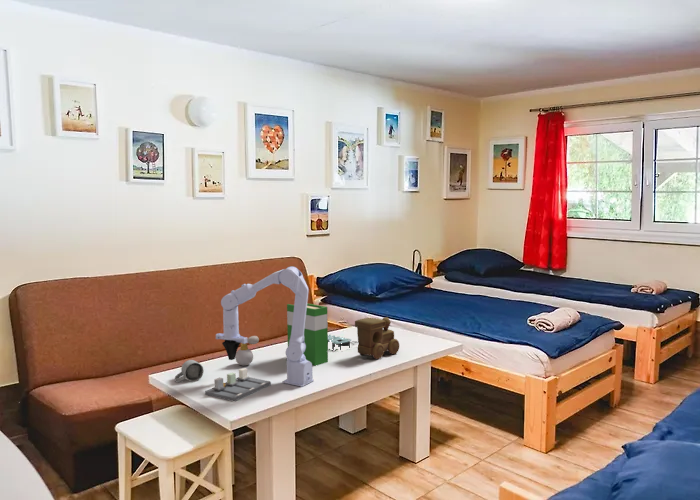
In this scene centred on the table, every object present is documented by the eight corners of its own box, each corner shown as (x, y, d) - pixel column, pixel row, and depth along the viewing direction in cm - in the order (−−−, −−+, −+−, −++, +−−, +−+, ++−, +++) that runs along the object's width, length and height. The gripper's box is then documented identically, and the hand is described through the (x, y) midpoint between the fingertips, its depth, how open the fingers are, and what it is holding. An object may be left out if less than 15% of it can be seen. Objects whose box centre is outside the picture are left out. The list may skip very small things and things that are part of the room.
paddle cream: (249, 378, 212) (249, 368, 212) (244, 380, 210) (243, 371, 209) (242, 376, 214) (242, 367, 214) (236, 379, 212) (236, 369, 211)
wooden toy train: (372, 362, 238) (371, 324, 236) (353, 356, 246) (352, 320, 244) (402, 352, 252) (402, 316, 250) (383, 348, 260) (383, 313, 258)
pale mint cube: (238, 383, 207) (237, 373, 207) (232, 385, 204) (231, 375, 204) (230, 381, 209) (230, 372, 208) (224, 384, 206) (224, 374, 206)
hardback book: (287, 357, 245) (287, 304, 243) (300, 354, 251) (299, 301, 248) (315, 365, 233) (314, 309, 231) (327, 362, 238) (327, 307, 236)
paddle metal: (225, 388, 201) (225, 378, 201) (219, 391, 199) (219, 380, 198) (218, 386, 203) (218, 376, 203) (212, 389, 200) (211, 379, 200)
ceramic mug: (198, 374, 223) (197, 356, 222) (204, 379, 216) (203, 361, 215) (172, 379, 217) (171, 361, 217) (177, 385, 211) (176, 366, 210)
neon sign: (380, 333, 273) (337, 344, 253) (380, 341, 274) (337, 353, 253) (350, 326, 288) (307, 336, 267) (350, 334, 289) (307, 345, 268)
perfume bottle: (231, 365, 235) (231, 337, 234) (250, 360, 242) (250, 333, 241) (242, 368, 230) (241, 340, 229) (261, 363, 237) (260, 335, 236)
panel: (270, 384, 210) (270, 378, 210) (234, 401, 193) (234, 395, 193) (242, 378, 217) (242, 373, 217) (205, 394, 200) (204, 388, 200)
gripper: (252, 324, 213) (253, 359, 214) (224, 320, 220) (225, 354, 221) (240, 328, 207) (240, 364, 208) (211, 324, 214) (212, 358, 215)
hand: (231, 359), depth 214 cm, fingers closed
